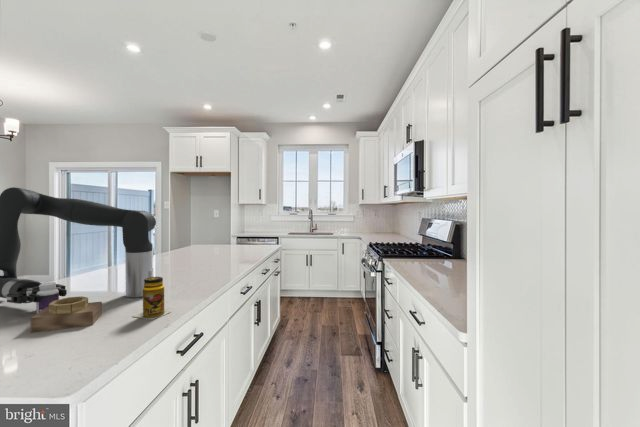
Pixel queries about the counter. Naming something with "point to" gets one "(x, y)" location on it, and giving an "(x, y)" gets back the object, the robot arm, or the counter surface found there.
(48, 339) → the counter surface
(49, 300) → the pill bottle
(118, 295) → the counter surface
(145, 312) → the condiment
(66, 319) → the wooden bottle holder
